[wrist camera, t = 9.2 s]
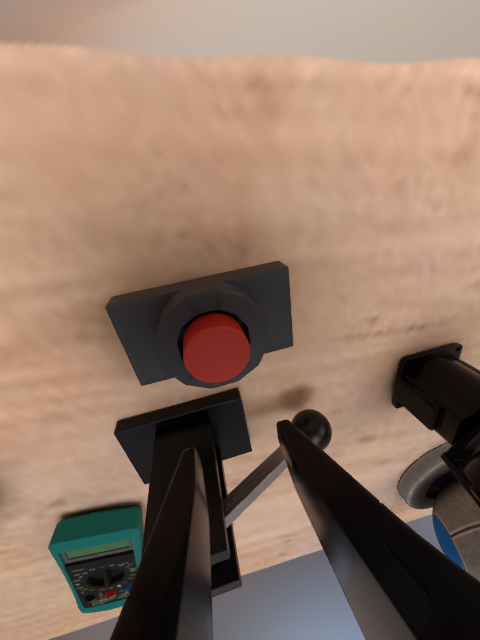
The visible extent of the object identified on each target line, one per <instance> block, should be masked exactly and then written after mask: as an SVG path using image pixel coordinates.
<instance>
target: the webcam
mask: <svg viewBox="0 0 480 640" xmlns="http://www.w3.org/2000/svg"><path fill="white" fill-rule="evenodd" d="M451 446H452V445H450V444H449V443H447V444H445V445H442V446H440V447H438V448H436V449H434V450H432V451H430V452H429V453H427V454H426V455H424V456H423V457H421V458H420V459H419V460H417V461H416V462H415V463H414V464H413V465H412V466H411V467H410V468H409V469H408V470H407V471H406V472H405V474H404V475H403V477H402V478H401V480H400V482H399V485H398V492H399V494H400V496H401V497H402V498H403V500H404V501H405V502H406V503H407V504H408V505H409V506H410V507H412V508H415V509H427V508H431V507H433V513H432V517H433V525H434V529H435V533H436V536H437V539H438V542H439V544H440V546H441V548H442V550H443V552H444V554H445V556H447V557H448V558H449V559H451V560H452V561H453V562H455V563H456V564H457V565H459V566H460V567H461V568H463V569H464V570H465V571H467V572H468V573H469V574H470V575H472V576H473V577H474V578H476V579H477V580H478V581H480V508H479V507H478V505H477V504H476V503H475V501H474V500H473V499H472V498H471V496H470V495H469V494H468V492H467V491H466V490H465V489H464V487H463V486H462V485H461V484H460V482H459V481H458V480H457V478H456V477H455V476H454V475H453V473H452V472H451V471H450V469H449V468H448V467H447V465H446V464H445V462H444V461H443V460H442V458H441V457H440V455H441V454H442V453H443V452H446V451H447V450H448V449H449V448H450V447H451Z"/></svg>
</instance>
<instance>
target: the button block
mask: <svg viewBox="0 0 480 640" xmlns="http://www.w3.org/2000/svg"><path fill="white" fill-rule="evenodd" d="M105 308H106V310H107V312H108V315H109V317H110V319H111V321H112V323H113V325H114V328H115V330H116V332H117V334H118V336H119V338H120V341H121V343H122V345H123V347H124V349H125V351H126V354H127V356H128V358H129V360H130V362H131V364H132V367H133V369H134V371H135V373H136V375H137V378H138V380H139V382H140V384H141V386H143V385H147V384H151V383H155V382H158V381H162V380H166V379H170V378H174V377H175V378H177V379H178V380H179V381H181V382H182V383H184V384H185V385H190V386H197V387H204V388H215V387H219V386H223V385H226V384H230V383H234V382H237V381H239V380H240V379H242V378H243V377H244V376H245V375H247V374H248V373H249V372H250V371H252V370H253V369H254V368H255V367H257V366H258V365H259V363H260V361H261V359H262V357H263V354H265V353H269V352H272V351H276V350H280V349H284V348H288V347H291V346H293V335H292V318H291V302H290V286H289V270H288V266H286V265H285V264H283V263H281V262H280V261H276V262H271V263H267V264H262V265H257V266H253V267H248V268H244V269H239V270H234V271H230V272H225V273H220V274H216V275H211V276H207V277H202V278H197V279H193V280H188V281H183V282H179V283H174V284H170V285H165V286H160V287H156V288H151V289H146V290H142V291H137V292H133V293H128V294H123V295H119V296H114V297H112V298H111V300H110V301H109V302H108V304H107V305H106V307H105ZM210 313H221V314H225V315H228V316H230V317H232V318H234V319H235V320H236V321H237V322H238V323H239V324H240V326H241V328H242V330H243V332H244V334H245V336H246V338H247V340H248V343H249V345H250V357H249V361H248V363H247V365H246V367H245V368H244V369H243V370H242V372H240V373H239V374H238V375H237V376H235V377H234V378H232V379H230V380H227V381H224V382H219V383H208V382H203V381H200V380H198V379H196V378H195V377H193V376H192V375H191V374H190V373H189V372H188V371H187V369H186V367H185V365H184V361H183V337H184V333H185V331H186V329H187V327H188V326H189V325H190V324H191V323H192V322H193V321H194V320H195V319H197V318H199V317H201V316H203V315H206V314H210Z"/></svg>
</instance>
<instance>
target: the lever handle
mask: <svg viewBox="0 0 480 640" xmlns="http://www.w3.org/2000/svg"><path fill="white" fill-rule="evenodd" d="M292 424H293V425H295V426H296V427H297V428H298V429H299V430H300V431H301V432H302V433H304V434H305V435H306V436H307V437H308V438H309V439H310V440H311V441H313V442H314V443H315V444H316V445H317V446H318V447H319V448H320V449H322V450H323V449H325V448H326V447H327V446H328V444H329V443H330V440H331V436H332V430H331V426H330V423H329V421H328V420H327V418H326V417H325V416H324V415H323V414H321V413H320V412H318V411H316V410H311V409H307V410H303V411H300V412H299V413H297V414H296V416H295V417H294V418H293V420H292ZM287 467H288V466H287V463H286V461H285V458H284V455H283V452H282V449H281V446H280V447H279V448H278V449H277V450H275V451H274V452H273V453H272V454H271V455H270V456H269V457H268V458H267V459H266V460H265V461H264V462H263V463H262V464H260V465H259V466H258V467H257V468H256V469H255V470H254V471H253V472H252V473H251V474H250V475H249V476H248V477H246V478H245V479H244V480H243V481H242V482H241V483H240V484H239V485H238V486H237V487H236V488H235V489H234V490H232V491H231V492H230V493H229V494H228V495H227V496H226V497H225V498H224V499H223V507H224V514H225V521H226V528H227V527H228V526H229V525H230V524H231V523H232V522H233V521H234V520H235V519H236V518H237V517H238V516H239V515H240V514H241V513H242V512H243V511H244V510H245V509H246V508H247V507H248V506H249V505H250V504H251V503H252V502H253V501H254V500H255V499H256V498H257V497H258V496H259V495H260V494H261V493H262V492H263V491H264V490H265V489H266V488H267V487H268V486H269V485H270V484H271V483H272V482H273V481H274V480H275V479H276V478H277V477H278V476H279V475H280V474H281V473H282V472H283V471H284V470H285V469H286V468H287ZM213 565H214V564H213ZM213 565H211V567H212V566H213Z"/></svg>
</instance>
